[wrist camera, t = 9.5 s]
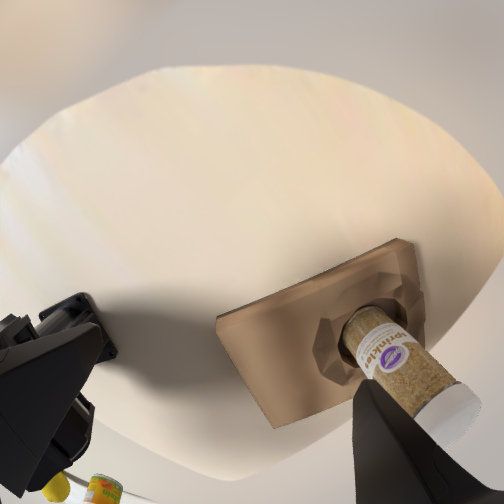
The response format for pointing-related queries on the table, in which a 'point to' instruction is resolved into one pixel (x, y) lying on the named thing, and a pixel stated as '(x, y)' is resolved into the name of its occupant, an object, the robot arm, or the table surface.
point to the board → (319, 332)
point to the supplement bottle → (103, 490)
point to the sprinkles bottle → (410, 375)
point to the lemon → (57, 488)
